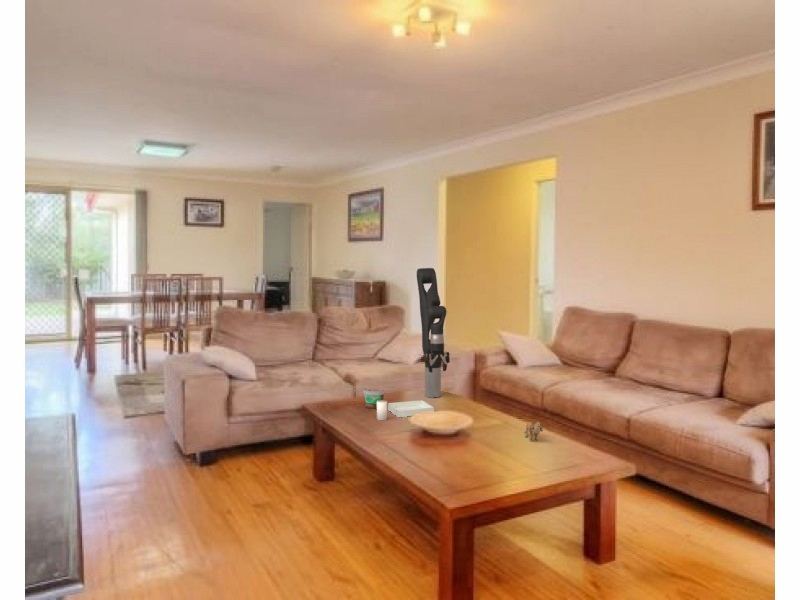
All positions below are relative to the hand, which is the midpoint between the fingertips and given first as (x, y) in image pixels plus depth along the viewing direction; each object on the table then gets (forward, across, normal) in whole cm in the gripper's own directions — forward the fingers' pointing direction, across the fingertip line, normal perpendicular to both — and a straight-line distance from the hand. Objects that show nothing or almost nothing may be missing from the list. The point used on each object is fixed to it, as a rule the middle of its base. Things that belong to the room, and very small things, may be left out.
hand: (437, 371), depth 305 cm
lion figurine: (+21, -8, +70) cm, 73 cm away
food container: (+18, +37, -6) cm, 41 cm away
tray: (+18, +21, +8) cm, 29 cm away
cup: (+18, +40, +13) cm, 46 cm away
